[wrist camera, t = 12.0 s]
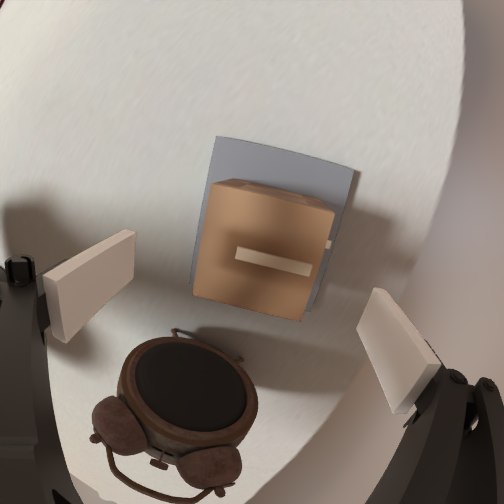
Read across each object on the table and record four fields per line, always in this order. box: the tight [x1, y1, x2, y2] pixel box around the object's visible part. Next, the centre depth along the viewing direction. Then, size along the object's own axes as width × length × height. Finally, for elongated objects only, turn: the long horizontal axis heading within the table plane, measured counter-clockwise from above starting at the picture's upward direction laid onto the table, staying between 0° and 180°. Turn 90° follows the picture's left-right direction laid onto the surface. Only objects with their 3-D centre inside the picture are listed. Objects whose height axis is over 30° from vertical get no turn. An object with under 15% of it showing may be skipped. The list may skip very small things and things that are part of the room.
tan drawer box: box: [193, 178, 335, 322], centre depth 22 cm, size 8×8×8 cm
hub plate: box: [189, 136, 354, 312], centre depth 24 cm, size 13×15×6 cm
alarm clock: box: [89, 329, 258, 504], centre depth 23 cm, size 14×7×20 cm, turn 67°
